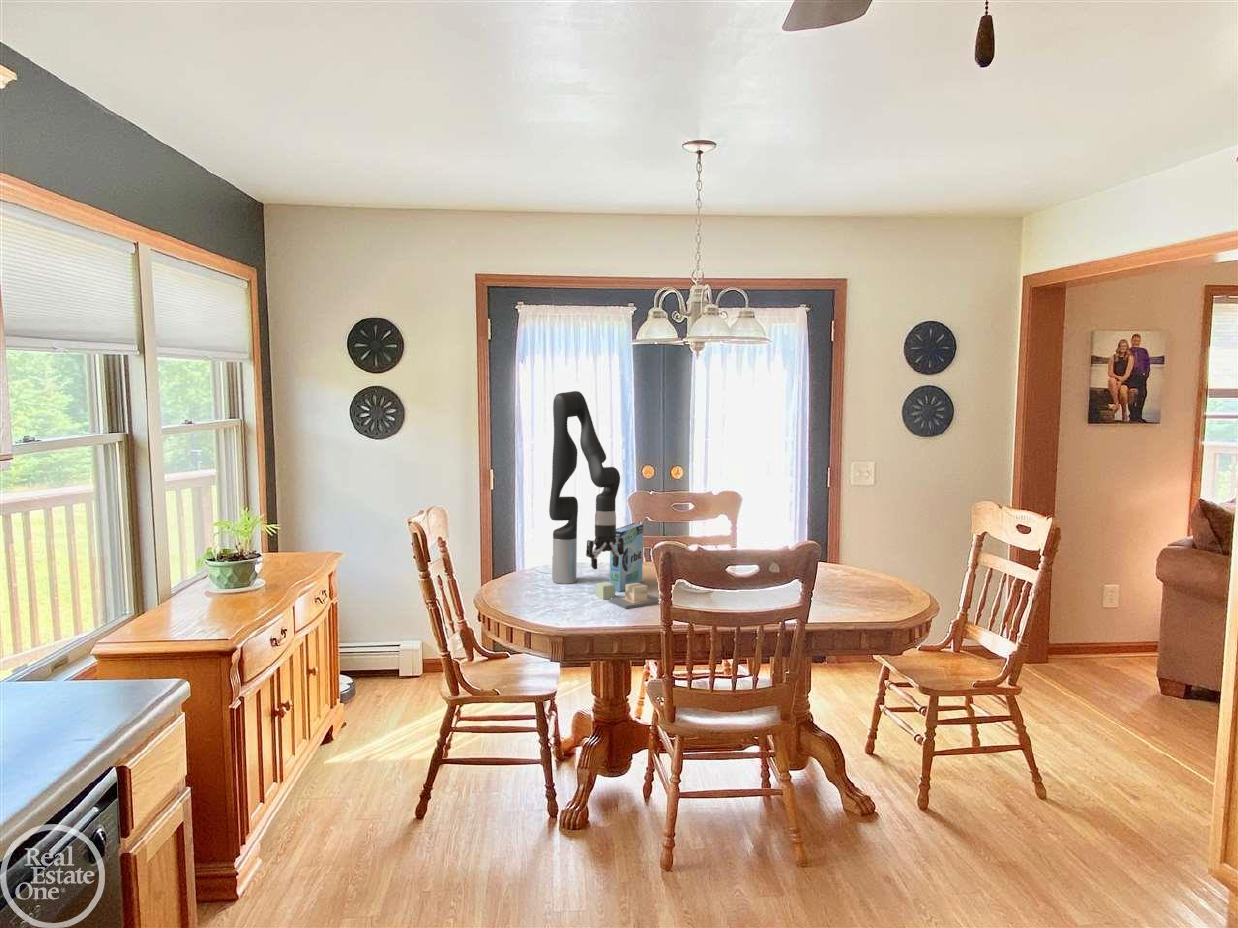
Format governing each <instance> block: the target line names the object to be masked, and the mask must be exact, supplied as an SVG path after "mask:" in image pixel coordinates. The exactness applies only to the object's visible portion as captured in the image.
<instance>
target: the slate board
mask: <svg viewBox="0 0 1238 928" xmlns="http://www.w3.org/2000/svg"><path fill="white" fill-rule="evenodd" d="M658 598H659V597H656V596H654V595H652V594H649V593H647V600H642V601H636V602H633V601H631V600H628V599H626V598H625V596H620V597H615V598H612V599H608V603H610V604H613V605H615V604H616V605H615V606H617V607H620V608H622V609H624V610H627V609H629V610H630V609H634V608H633V607H635V608H641V607H646V606H647V605H648V606H652V605H653V604H654V605H659V604H658V602H659V600H658ZM640 606H641V607H640Z"/></svg>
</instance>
